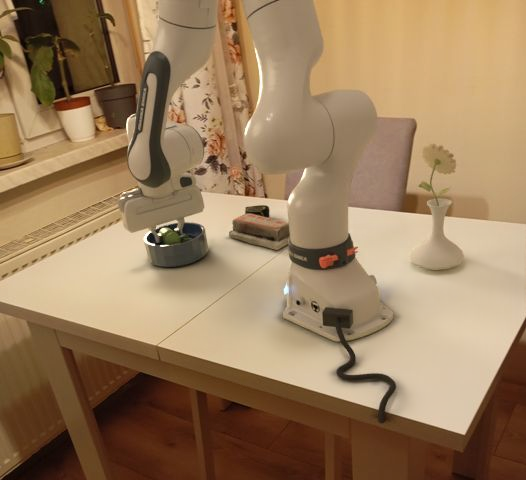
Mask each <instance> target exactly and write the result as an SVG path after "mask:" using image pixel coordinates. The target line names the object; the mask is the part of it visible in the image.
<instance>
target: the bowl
mask: <svg viewBox="0 0 526 480" xmlns="http://www.w3.org/2000/svg"><path fill="white" fill-rule="evenodd" d="M177 225H178V222H175V223H168V224H165V225H161V226H157V227H156V229H157V230H154V231H155V232H156V233H157V234H159V231H160V230H161V229H162V228H169V229H171V230H172V231H174V229H175V228H177ZM182 232H183V233H184V234H186V235H187V236H189V237H190V238H192V240H189V241H186V242H183V243H179V244H173V245H166V244H164V243H163V242H160V243H157V242H156V240H155V235H153V233H152V232H151V231H150V230H149V232H147V233H146V234H145V236H144V237H143V242H144V246H145V250H146V254H147V258H148V259H147V260H148V262H149V263H150V264H152V265H153V266H157V267H162V268H176V267H182V266H187V265H190V264H193V263H195V262H197V261H200V259H203V258H204V257H205V256H206V255H207V254H208V252H209V243H208V238H207V233H206V229H205V226H204V225H203V224H200V223H197V222H189V221H185V222H184V225H183V228H182Z"/></svg>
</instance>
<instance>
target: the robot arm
mask: <svg viewBox="0 0 526 480" xmlns="http://www.w3.org/2000/svg"><path fill="white" fill-rule="evenodd" d="M219 2H220V0H158V1H157V3H158V4H157V21H156V29H155V34H154V38H153V43H152V46H151V48H150V51H149V54H148V56H147V58H146V60H145V62H144V65H143V69H142V73H141V77H140V85H139V91H138V98H137V105H136V112H135V113H134V114H133V113H132V114H131V115H130V116H129V117H128V118H127V120H126V134H127V135H126V136H127V141H128V146H127V147H128V148H127V153H126V154H127V155H126V162H127V164H126V165H127V167H128V170H129V173H130V175H131V176H132V177H133V178H134V179H135V180H136V181H137V184H138V188H135V189H132V190H130V191H124V192H122V193H121V194H120V196H118V198H117V206H118V209H119V211H120V212H121V219H122V225H123V228H124V229H125V230H126V231H127V232H129V233H131V234H133V233H138V232H140V231H144V230H146V229H147V230H148V231H149V232H150V231H151V232H152V233H153V235H155V240H156V242H157V243H160V242H163V241H164V240H163V236H162V234H160V233H159V234H157V233H156V232H155V231H154V230H157V229H156V228H157V227H158V226H160V225H163V224H167V223H170V222H173V221H176V222H177V223H178V225H177V228H175V229H174V232H175V233H177V234H178V235H179V236H183V232H182V228H183V225H184V222H186V221H185V218H187V217H190V216H193V215H196V214H200V213H203V212H204V210H205V202H204V197H203V194H202V191H201V189H200V187H199V185H197V179H196V176H195V175H193V174H192V173H189V171H191V170H192V169H195V168H196V167H198V166H199V165H200V164H201V163H202V162H203V160H204V157H205V144H204V141H203V138H202V137H201V135H200V133H199V132H198V131H197V129H195V128H194V127H193V126H191V125H189V124H183V123H179V122H176V121H174V120H172V119H170V118H168V116H169V110H170V105H171V102H172V99H173V97H174V95H175V93H176V92H177V91H178V89H179V88H180V87H181V86H182V85H183V84H184V83H185V82H186V81H187V80H188V79H189V78H191V77H192V76H193V75H194V74H195V73H197V72H199V71H200V70H201V69H203V67H204V66H205V65H206V64H207V63H208V62H209V60H210V58H211V55H212V52H213V50H214V46H215V42H216V34H217V26H218V25H217V24H218V11H219V10H218V9H219ZM241 4H242V7H243V11H244V15H245V19H246V22H247V27H248V29H249V33H250V36H251V41H252V45H253V49H254V53H255V56H256V61H257V66H258V71H259V73H258V74H259V90H258V91H259V92H258V98H257V102H256V106H255V109H254V111H253V113H252V115H251V117H250V118H249V120H248V122H247V123H246V127H245V129H244V135H243V145H244V150H245V154H246V156H247V159H248V161H249V162H250V164H251V165H252V166H253V167H254V169H256V170H257V171H258V172H259V173H261V174H263V175H266V176H275V175H289V174H293V173H297V172H299V171H302V170H303V173H302V175H301V178H300V180H299V182H298V183H297V185H295V187H294V188H293V190H292V191H291V192H290V194H289V196H288V199H287V202H286V203H287V204H286V209H287V218H288V219H287V220H288V223H289V231H290V238H289V240H288V244H287V248H288V249H287V251H288V255H289V257H288V258H289V260H290V261H291V262H290V267H289V270H288V272H287V275H286V284H285V287H284V288H283V294H284V295H286V306H285V308H284V309H283V311H282V318H283V319H285V320H287V321H289V322H291V323H293V324H295V325H297V326H300V327H303V328H304V329H307V330H309V331H311V332H313V333H315V334H317V335H320V336H323V337H324V338H326V339H328V340H330V341H332V342H333V341H334V342H337V343H339V342H340V343H341V345H342V346H343V348H344V350H345V351H346V352H347V353H348V354H349V360H348V361H347V362H346V363H344V364H342V365H340V366H339V367H338V368H337V369H336V370H335V371H336V376H337V377H339V378H340V379H341V380H344V381H349V382H355V381H369V380H381V381H383V382H386V383H387V384H388V385H389V387H388V389H387V391H386V392H385V393H384V395H383V397H382V398H381V400H380V402H379V406H378V412H377V414H378V415H377V418H378V419H377V421H378V423H380V424H385V422H386V408H387V404H388V402H389V401H390V399H391V397H392V396H393V395H394V393H395V391H396V390H397V385H396V384H397V383H396V381H394V379H392V377H391V376H389V375H387V374H384V373H378V372H376V373H375V372H372V373H371V372H370V373H361V374H346V373H344V372H345V371H346V370H348V369H350V368H352V367H353V365H355V363H356V359H357V357H356V353H355V351H354V349H353V348H352V347H351V345H350V344H349V342H348V341H353V340H356V339H360V338H364V337H366V336H369V335H372V334H373V333H375V332H377V331H379V330H381V329H383V328H385V327H386V326H388V325H389V324H390V323H391V322H393V319H394V318H395V315H394V312H393V311H392V310H391V309H390V308H389V307H388V306H386V305H385V304H384V303H383V302H382V301H381V295H380V290H379V288H378V286H377V278H376V276H375V275H374V274H369V273H368V272H367V271H366V269H365V268H364V267H363V265H362V264H361V263H360V261H359V260H358V259H357V257H356V256H357V255H356V254H357V253H359V251H358V250H357V249H359V246H355V247H354V241H353V240H352V239H353V238H352V236H351V233H350V232H349V197H350V190H351V185H352V181H353V178H354V174H355V171H356V168H357V165H358V163H359V160H360V158H361V156H362V154H363V152H364V150H365V149H366V147H367V146H368V144H369V143H370V142H371V140H372V139H373V138H374V137H375V134H376V131H377V128H378V114H377V108H376V106H375V103H374V102H373V100H372V98H371V97H370V96H369V95H368V94H367V93H366V92H364V91H363V90H359V89H333V90H330V91H326V92H321V93H318V94H313V95H312V92H311V74H312V70H313V69H314V68H315V66H316V65H317V64H318V63H319V62H320V59H321V57H322V56H323V53H324V50H325V49H324V47H325V43H324V37H323V33H322V30H321V27H320V22H319V18H318V14H317V10H316V6H315V2H314V0H241Z"/></svg>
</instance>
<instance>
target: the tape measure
mask: <svg viewBox="0 0 526 480" xmlns="http://www.w3.org/2000/svg"><path fill="white" fill-rule="evenodd" d="M244 210H245V212H244V214H255V215H259V216H263V217H267V218H270V207H269V206H268V205H265V204H262V205H261V204H259V205H251V206H245V209H244Z"/></svg>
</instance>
